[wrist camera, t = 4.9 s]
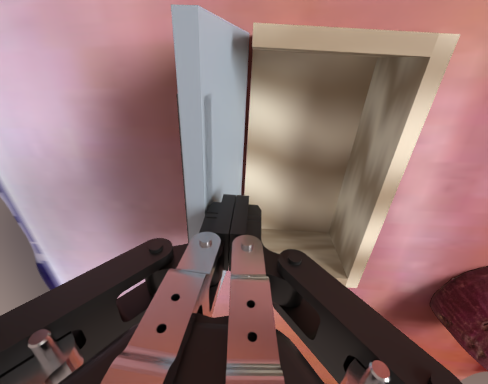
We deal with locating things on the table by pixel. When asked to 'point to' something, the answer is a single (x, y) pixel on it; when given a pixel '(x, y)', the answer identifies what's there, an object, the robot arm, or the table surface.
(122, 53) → the table surface
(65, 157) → the table surface
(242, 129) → the cabinet door
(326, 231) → the box
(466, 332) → the vegetable
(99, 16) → the table surface
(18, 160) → the table surface
